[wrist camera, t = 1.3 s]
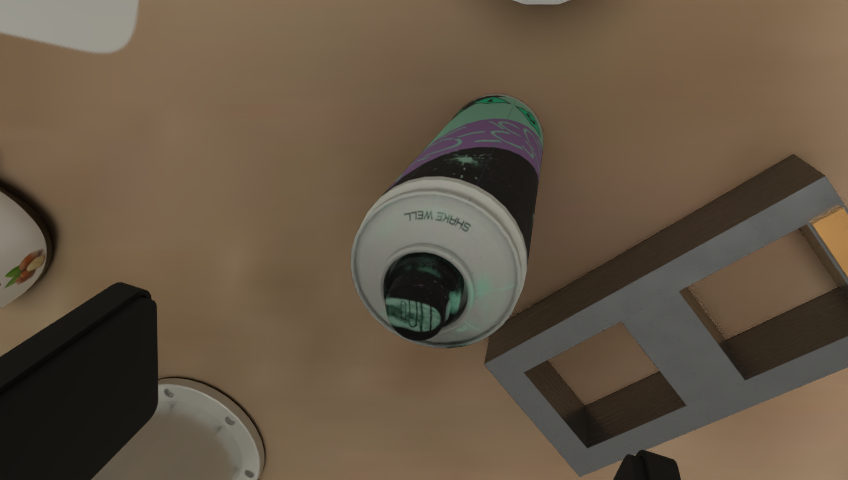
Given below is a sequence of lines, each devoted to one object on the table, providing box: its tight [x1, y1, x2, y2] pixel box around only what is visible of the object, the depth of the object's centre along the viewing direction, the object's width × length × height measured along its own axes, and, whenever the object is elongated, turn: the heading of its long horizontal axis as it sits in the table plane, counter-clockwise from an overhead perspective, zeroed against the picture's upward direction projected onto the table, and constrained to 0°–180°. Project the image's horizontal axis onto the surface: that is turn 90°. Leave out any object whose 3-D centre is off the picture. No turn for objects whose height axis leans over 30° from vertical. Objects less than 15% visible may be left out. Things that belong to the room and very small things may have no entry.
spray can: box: [351, 94, 543, 348], centre depth 24 cm, size 6×6×20 cm
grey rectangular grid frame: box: [484, 154, 848, 477], centre depth 32 cm, size 20×10×4 cm, turn 130°
